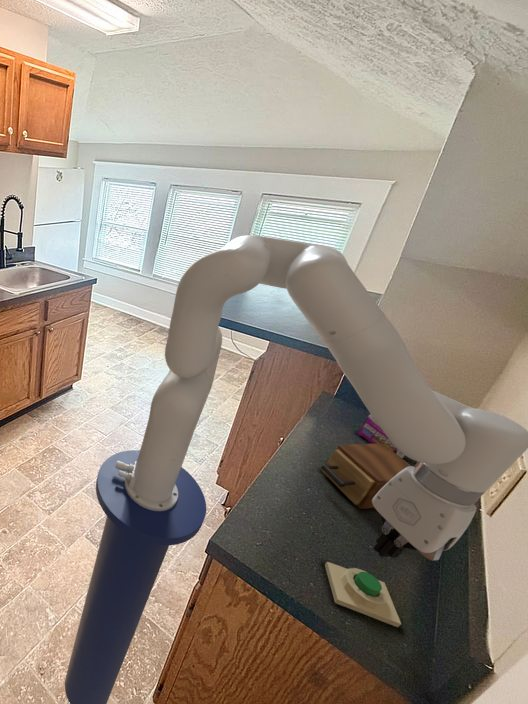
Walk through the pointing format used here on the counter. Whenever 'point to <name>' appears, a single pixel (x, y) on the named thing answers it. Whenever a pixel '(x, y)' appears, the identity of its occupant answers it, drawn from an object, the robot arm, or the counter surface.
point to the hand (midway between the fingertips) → (383, 552)
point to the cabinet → (374, 466)
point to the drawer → (348, 476)
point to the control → (360, 595)
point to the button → (368, 583)
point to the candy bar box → (376, 435)
